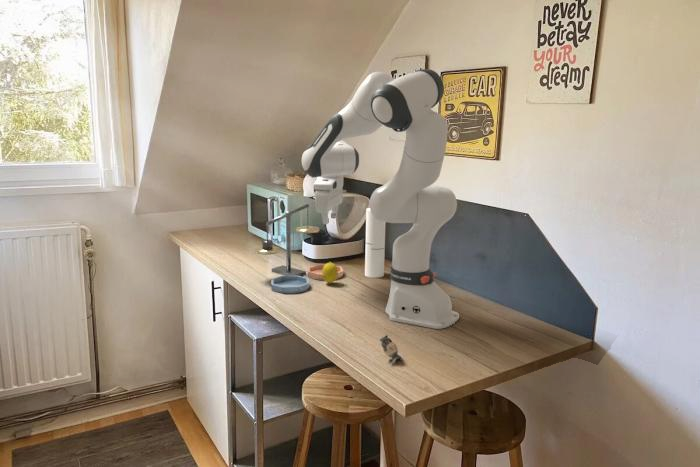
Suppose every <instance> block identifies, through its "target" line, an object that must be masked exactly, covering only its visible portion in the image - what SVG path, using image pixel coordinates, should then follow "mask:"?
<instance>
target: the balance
mask: <svg viewBox="0 0 700 467" xmlns="http://www.w3.org/2000/svg"><path fill="white" fill-rule="evenodd" d="M309 207H310V204H309V203H307V204H304V205H302V206H300V207H297V208H295V209H293V210H290V211H289V210H287V211H285V212H284V214H282V215H280V216H279V215H278V216H277V217H275V218H273V219H271V220H268V221H266V222H265V225H266V239H263V240H262V244H261V245H262V246H257V247H255V248H254V253H256V254H257V255H276V254H279V253H280V252H281V248H280V247H279V246H274V245H273V243H274V242H273V240H272V239H269V228H268V227H269V225H272V224H273V223H276V222H278V221H280V220H284V219H285V225H286V226H285V234H286V235H285V236H286V237H285V238H286V239H285V242H286V245H285V246H286V253H285V254H286V264H285V265H280V266H275V267H273V268H271V273H275V274H277V275H279V274H280V275H281V276H301V277H303V276H304V275H307V271H306V270H302V269H299V268H294V267H292V264H291V263H292V262H291V261H292V259H291V258H292V257H291V256H292V253H291V252H292V250H291V249H292V247H291V246H292V244H291V243H292V241H291V239H292V238H291V235H292V234H291V229H292V228H291V217H292V215H294V214H296V213H298V212H301V211H302V210H305V209H306V210H307V211H306V214H307V215H306V222H307V223H306V225H304V226H303V225H301V226H297V227H296V228H295V231H296V232H297V233H302V234H313V233H319V232H320V227H318V226H313V225H309Z"/></svg>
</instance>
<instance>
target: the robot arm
mask: <svg viewBox="0 0 700 467" xmlns="http://www.w3.org/2000/svg"><path fill="white" fill-rule="evenodd" d="M444 94H445V84H444V82H443V79H442V78H441V76H440V75H439V73H438V72H436V71H434V70H433V69H430V68H421V69H416V70H414V71H412V72H409V73H406V74H405V75H401V76H399V77H397V78H393V76H391V75H390V74H389V73H387V72H384V71H374V72H372V73H369V75H367V76H366V78H365V79H364V80H363V81H362V82H361V84H360V85H359V87H358V88H357V90H356V91H355V92H354V95H353V96H352V99H351V100H350V102H349V103H348V104H347V105H346V106H345V107H344V108H342V109H341V110H340V111H338V112H336V113H335V114H334V115H331V117H330V118H329V120H327V122H325V124H324V126H323V127H322V129H321V130H319V131H320V132H319V133H318V134H317V136H316V137H315V139H313V141H312V142H311V143H310V144H309V145H308V146H306V148H305V149H304V151H303V152H302V154H301V158H300V159H301V167H302V170H303V171H304V173H306V174H307V175H308V176H309V177H310V178H316V180H315V181H314V183H313V189H314V190H315V193H314V199H315V201H314V202H315V210H316V213H318V214H319V213H320V215H321V218H322V224H323V225H328V224H329V222H330V219H329V212H330V211H331V213H330V218H331V219H336V218H337V217H338V216H337V215H338V211H339V206H340V205H341V204H343V200H344V196H343V195H344V193H343V187H344V176H348V175H351V174H354V173H356V171H357V169H358V168H359V165H360V154H359V152H358V150H357V149H356V148H355V147H354V146H353V145H349V144H348V143H347V142H346V141H345V140H346V139H350V138H354V137H355V138H357V137H361V136H362V137H363V136H367V135H372V134H373V133H375V132H376V131H378V130H379V129H380V127H382V125H383V126H384V127H387V128H390V129H392V130H393V131H394V132H397V133H403V132H405V142H404V147H403V151H402V157H401V160H400V164H399V167H398V170H397V172H396V173H395V174H394V175H393V177H392V178H391V179H389V181H387V182H386V183H385V184H382V186H379V187H377V188H375V190H373V192H372V193H371V195H370V198H369V203H368V204H369V208H370V211H371V213H372V215H373V217H374V218H375V219H376V220H378V221H383V222H386V223H387V224H388V223H390V224H413V225H412V226H411V228H410V230H408V231H407V232H405V233H403V234H401V235H399V236H398V237H397V238H396V239H395V240H394V242H393V243H392V244H393V245H392V261H391V262H392V263H391V266H390V275H389V276H390V277H389V278H390V289H389V295H388V300H387V303H386V307H385V309H384V311H385V313H386V314H387V315H388V318H389V320H390V321H393V322H398V323H403V324H409V325H412V326H413V325H414V326H420V327H425V328H428V329H429V328H430V329H434V330H436V329H437V330H441V329H445V328H448V327H450V325H451V326H452V324H453V325H454V324H456V323H457V322H458V321H459V320H458V319H460V313H459V312H457V311H454V310H453V306H452V304H453V303H452V299H451V297H450V296H449V295H448V294H447V293H446V292H445V291H444V290H443V289H442V288H441V287H440V286H439V285H438V283H436V282H435V281H434V279H435V278H434V277H436V276H437V272H436V271H435V272H433V271H432V270H431V268H430V258H431V250H432V248H431V247H432V243H433V241H434V238H435V236H436V234H437V233H438V232H439V230H440V229H441V227H443V225H445V224H446V223H447V222H449V221H450V220H451V219H452V218H453V217H454V215H455V213H456V211H457V208H458V200H457V198H456V195H455V193H454V192H453V191H452V189H451V188H447V187H444V186H443V187H442V186H438V185H433V184H434V183H436V181H438V179H439V177H440V175H441V171H442V168H443V163H444V159H445V158H444V157H445V155H446V149H447V143H448V132H449V130H448V122H447V120H446V119H445V117H444V116H443V115H442V114H441V113H440V112H439V113H438V112H437V111H433V110H432V108H434V107H435V106H437V104H438V103H440V101H441V100H442V98H443V96H444ZM457 320H458V321H457ZM456 321H457V322H456ZM455 322H456V323H455Z"/></svg>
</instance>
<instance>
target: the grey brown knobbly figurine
mask: <svg viewBox="0 0 700 467" xmlns="http://www.w3.org/2000/svg"><path fill="white" fill-rule="evenodd" d="M379 342H380V343H381V344H380V345H381V347H382V349H383V350H382V351H383V352H384V354H385V355H386V356H387V357H389V358H391V362H389V361H388V364H390V365H393V364H396V360H400V361H403V360H404V358H403V356H405V355H404V354H403V355H400V354H398V353H399V350H398V349H399V348H398V347H397V344H396V343H395V342H393V340H392V339H391V338H390V337H389V336H388V334H385V336H383V337H381V338H379Z"/></svg>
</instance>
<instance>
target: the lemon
mask: <svg viewBox="0 0 700 467" xmlns="http://www.w3.org/2000/svg"><path fill="white" fill-rule="evenodd" d="M325 264H326V265H324V267H323V270H322V276H323V279H324V280H323V281H325V282H326V283H328V284H332V283H333V282H335V281H336V280H338V279H337V276H338V270H337V267H336V266H337V265H336V264H335V263H333V262H331V261H328V262H327V263H325Z"/></svg>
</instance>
